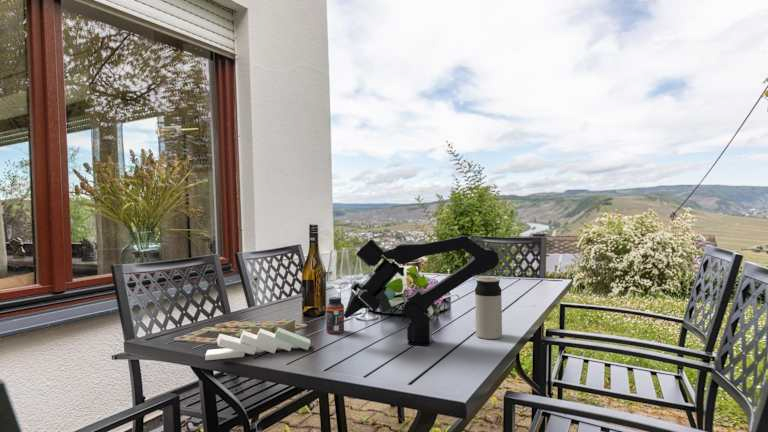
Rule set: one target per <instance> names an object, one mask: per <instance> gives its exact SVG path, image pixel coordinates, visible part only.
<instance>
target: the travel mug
mask: <svg viewBox="0 0 768 432" xmlns="http://www.w3.org/2000/svg"><path fill="white" fill-rule="evenodd" d="M475 281H476V286H475V288H474V295H475V297H474V298H475V299H474V301H475V302H474V304H475V306H474V307H475V309H474V310H475V312H474V313H475V336H476V337H478V338H479V339H484V340H498V339H500V338H502V337H503V323H502V322H503V319H502V317H503V313H502V312H503V311H502V310H503V309H502V308H503V306H502V305H503V304H502V302H503V299H502V288H501V286H500V281H501V278H499V277H493V276H481V277H479V276H478V277H476V278H475Z"/></svg>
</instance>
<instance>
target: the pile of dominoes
mask: <svg viewBox="0 0 768 432" xmlns="http://www.w3.org/2000/svg"><path fill="white" fill-rule="evenodd" d="M278 327H279V328H282V329H284V330H287V331H289V332H292V333H295V334H296V331H298V330H301V329H305V328H307V327H308V324H306V323H297V324H296V319H294V318H284V319H282V320H279V321H272V320H269V321H268V320H262V321H253V322H250V321H246V320H244V321H238V320H232V321H226V322H222V323H221V322H220V323H217V324H215V325H214V326H213V327H212V326H206V327H203V328H201V329H198V330H195V331H193V332H190V333H187V334H184V335H180V336H177V337H174V338H173V342H178V341H187V342H186V343H195V342H196V343H195V344H203V343H204V344H206V345H218V344H217V338H218V337H217V338H214V337H212V338H211V337H201V336H202V335H205V334H207V333H220V334H235V335H234V337H235V338H239V339H240V337H241V335H242V333H243V330H244V331H247V332H249V333H252V334H255V335H257V334H258V332H259V330H260V328H261V329H264V330H266V331H269V332H272V333H274V334H276V331H277V329H278Z"/></svg>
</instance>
